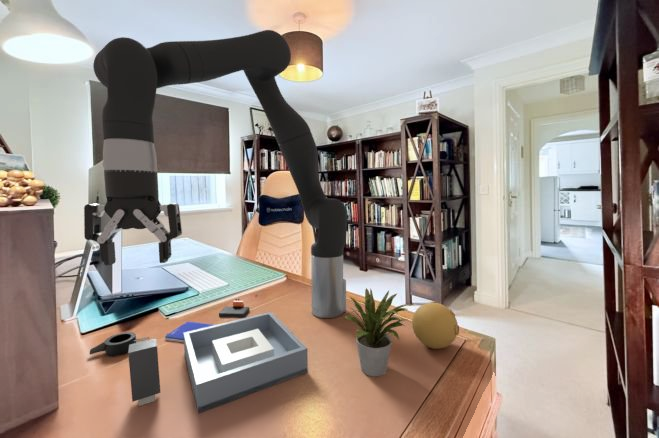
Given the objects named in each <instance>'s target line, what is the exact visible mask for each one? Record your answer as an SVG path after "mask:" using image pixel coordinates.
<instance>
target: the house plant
mask: <svg viewBox="0 0 659 438" xmlns="http://www.w3.org/2000/svg"><path fill="white" fill-rule="evenodd" d="M389 293H390V290H388V291H387V292H386V293H385V294H384V296H383V298H382V299H381V301H380V302H379V304H378V306H377V307H376V301H375V299H374V295H373V291H372V288H370V291H369V290H368V288H366V287H365V292H364V301H359V300H356V299H355V298H354V297H352V296H349V297H350V299H351V300H352V301H353V303H352V304H353V306H354V307H355V308H356V309H354V308H352V307H351V306H349V308H350V310H352V311H351V312H350V313H351V314H352V313H354V314H356V315H357V317H358V318H359V319H360V320H361V321H360V320H359V319H358V318H357V317H355V316H353V315H349V314H348V315H346V316H344V319H347V320H349V321H351V322H353V323H355V324H356V325H358V326H359V328H360V329H356V337H355V341H356V347H357V352H358V353H357V354H358V358H359V364H360V370H361V372H362V373H363V374H365V375H367V376H369V377H381V376H384V375H385V374H386V372H387V370H388V369H387V368H388V366H389V365H388V364H389V359H390V353H391V349H392V344H393V340H392V337H391V336H389V334H390V335H392V336H394V337H396V338H397V339H398V340H400V338H399V337H400V336H399V334H398V332H397V331H396V330H394V329H393V328H398V327H402V326H404V327H406V326H405V324H403V323H404V321H407V319H406V318H405V319H400V318H399V317H395V316H394V315H395V314H397V315H398V314H399V313H398V312H402V311H403V312H404V311H406V310H407V308H404V307H407V306H411V305H414V303H406V304H401V305H397V306H396V307H394V308H392V309H391V310H389V308H390V307H391V306H392V303H393V300H394V298H395V297H396V296H397V294H399V293H394V294H392V295H391V296H389ZM388 296H389V298H388ZM359 302H360V303H363V304H364V310H363V308H362V307H363V306H361V304H360V303H359ZM364 311H365V312H364ZM359 313H360V315H359ZM392 321H395V322H392ZM390 322H391V323H390ZM388 323H389V324H388ZM387 324H388V325H387Z"/></svg>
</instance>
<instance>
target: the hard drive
mask: <svg viewBox="0 0 659 438" xmlns="http://www.w3.org/2000/svg"><path fill="white" fill-rule="evenodd" d="M213 325H214V324H212V323H204V322H194V321H185V323H183V324H181V325H180V326H178V327H177V328H175V329H173V330H172V331H170V332H169V333H167V334H166V335H165V336H164V340H165V341H172V342H178V343H184V335H183V333H184V332H188V331H192V330H197V329H201V328H205V327H209V326H213Z"/></svg>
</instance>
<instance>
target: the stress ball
mask: <svg viewBox="0 0 659 438" xmlns="http://www.w3.org/2000/svg"><path fill="white" fill-rule="evenodd" d="M411 320H412V321H411V327H412V330H413V333H414V334H415V337H416V338H417V339H418V341H420V343H422V344H423V345H424V346H426V347H428V348H430V349H432V350H439V349H443V348H448V347H449V346H450V345H452V344H453V342H455V340H456V338H457V336H459V335H460V334H459V333H460V325H458V321H457V317H456V314H455V313H454V311H453V310H452V309H451V308H448V307H447V306H445V304H443V303H440V302H427V303H424V304H422V305H420V306H419V307H418V308H417V309H416V310H415V312H414V313H413V316H412V319H411Z"/></svg>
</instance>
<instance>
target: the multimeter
mask: <svg viewBox="0 0 659 438" xmlns="http://www.w3.org/2000/svg"><path fill="white" fill-rule="evenodd" d="M257 295H258V294H255V296H254V297H253V298H254V299H256V297H257ZM243 305H244V301H243V300H240V299H239V298H238V299H237V298H235V300H233V301H232V306H225V307H223V309H221V310H220V312H219V313H218V317H220V318H233V317H234V318H246V316H247V314H249V311H250V307H249V306H243Z"/></svg>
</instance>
